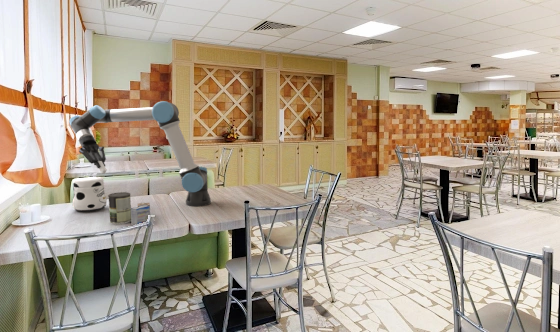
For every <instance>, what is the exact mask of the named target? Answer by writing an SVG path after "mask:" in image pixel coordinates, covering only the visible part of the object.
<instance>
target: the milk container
mask: <svg viewBox="0 0 560 332" xmlns="http://www.w3.org/2000/svg"><path fill="white" fill-rule="evenodd" d="M72 187H73V197H72V198H73V199H72V206H73V207H72V208H73V209H74V210H75V211H78V212H95V211H98V210H101V209H104V208H105V207H106V206H107V199H108V198H107V196H106V194H105V193H106V192H105V183H104V178H103V177H99V176H95V177H94V176H92V177H81V178H79V177H78V178H76V179H73V180H72Z"/></svg>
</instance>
